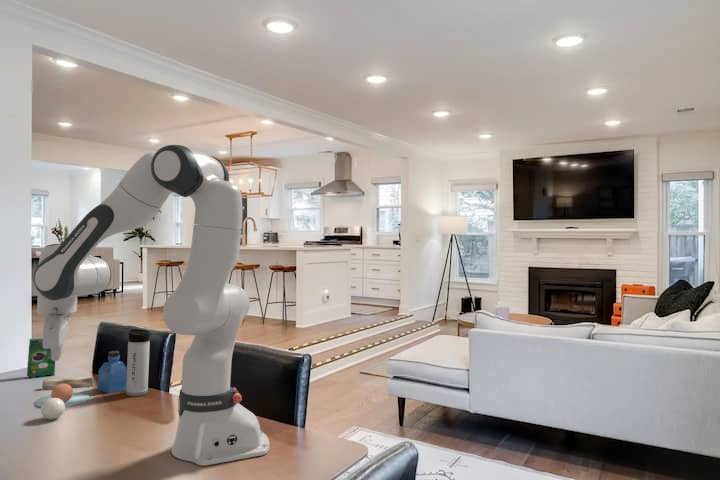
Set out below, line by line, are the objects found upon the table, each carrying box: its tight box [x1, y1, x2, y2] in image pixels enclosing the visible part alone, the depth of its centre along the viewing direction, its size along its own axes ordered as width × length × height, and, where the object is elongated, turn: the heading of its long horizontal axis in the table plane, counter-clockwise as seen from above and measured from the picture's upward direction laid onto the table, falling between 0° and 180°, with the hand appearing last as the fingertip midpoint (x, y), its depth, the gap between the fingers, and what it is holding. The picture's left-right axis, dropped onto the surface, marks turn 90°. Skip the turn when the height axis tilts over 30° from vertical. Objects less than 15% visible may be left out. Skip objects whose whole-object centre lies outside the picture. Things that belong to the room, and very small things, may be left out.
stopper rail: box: [41, 376, 94, 390], centre depth 161 cm, size 14×2×2 cm, turn 115°
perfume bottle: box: [97, 350, 127, 394], centre depth 160 cm, size 6×6×12 cm
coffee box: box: [26, 337, 56, 378], centre depth 171 cm, size 8×3×13 cm, turn 130°
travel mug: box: [125, 328, 151, 397], centre depth 157 cm, size 6×7×20 cm
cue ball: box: [40, 398, 66, 420], centre depth 133 cm, size 6×6×6 cm
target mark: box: [34, 392, 90, 408], centre depth 148 cm, size 14×14×1 cm
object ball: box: [50, 384, 74, 402], centre depth 146 cm, size 6×6×6 cm
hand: (56, 359), depth 128 cm, fingers closed
